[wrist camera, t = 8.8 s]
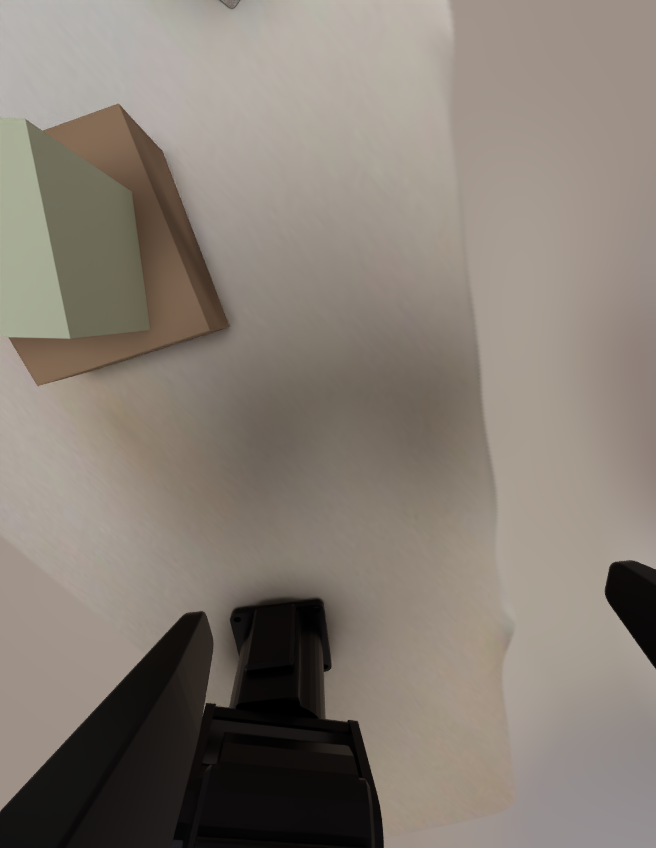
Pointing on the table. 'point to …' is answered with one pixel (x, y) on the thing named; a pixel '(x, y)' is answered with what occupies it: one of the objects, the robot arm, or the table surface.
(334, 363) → the table surface
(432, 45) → the table surface
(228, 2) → the light bulb box
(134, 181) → the walnut block
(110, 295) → the sage cube
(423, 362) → the table surface
